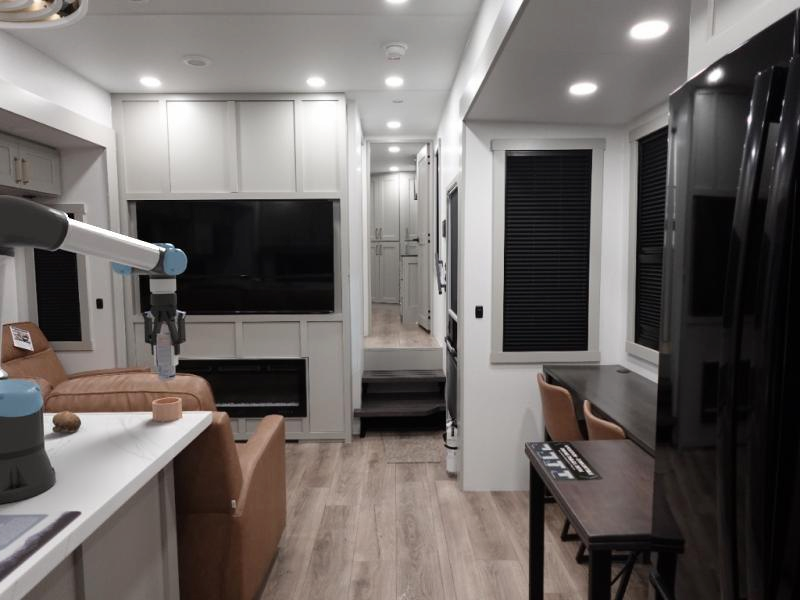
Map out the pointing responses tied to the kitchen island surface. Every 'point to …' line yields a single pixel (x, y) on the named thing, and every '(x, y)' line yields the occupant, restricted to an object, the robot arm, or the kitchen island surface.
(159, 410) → the light orange hollow cylinder
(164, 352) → the beverage can
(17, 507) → the kitchen island surface
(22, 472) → the robot arm
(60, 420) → the mushroom
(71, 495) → the kitchen island surface
